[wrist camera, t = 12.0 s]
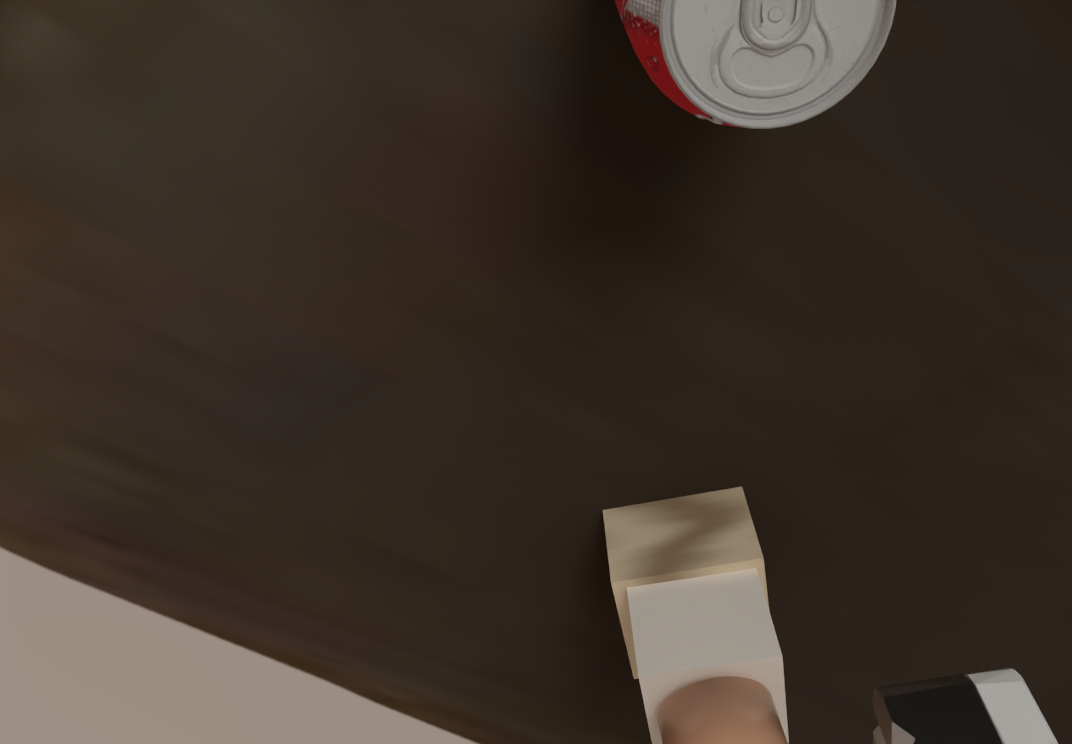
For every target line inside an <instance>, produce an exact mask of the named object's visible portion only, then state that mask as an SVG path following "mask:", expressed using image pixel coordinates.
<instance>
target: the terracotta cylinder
mask: <svg viewBox="0 0 1072 744" xmlns="http://www.w3.org/2000/svg"><path fill="white" fill-rule="evenodd" d="M657 720H658V727H659V731H660V735H661V740H662V744H788V742H787V740H786V737H785V734H784V731H783V728H782V725H781V722H780V719H779V716H778V713H777V710H776V707H775V704H774V702H773V699H772V696H771V694H770V691H769V690H768V689H767V688H766V687H765V686H764V685H763V684H761V683H759V682H757V681H755V680H752V679H749V678H744V677H735V676H725V677H716V678H710V679H706V680H702V681H699V682H696V683H693V684H691V685H689V686H686V687H685V688H683V689H681V690H679V691H678V692H676V693H675V694H673V695H672V696H671V697H670V698H669V699H668V700H667V701H666V702H665V703H664V704H663V705H662V707H661V709H660V711H659V713H658V719H657Z"/></svg>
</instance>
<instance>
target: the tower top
mask: <svg viewBox="0 0 1072 744" xmlns="http://www.w3.org/2000/svg"><path fill="white" fill-rule="evenodd" d="M627 594H628V602H629V609H630V617H631V624H632V632H633V639H634V647H635V654H636V662H637V669H638V677H639V682H640V687H641V692H642V696H643V701H644V706H645V711H646V716H647V721H648V726H649V731H650V735H651V740H652V744H662V740H661V735H660V731H659V727H658V720H657V719H658V713H659V711H660V709H661V707H662V705H663V704H664V703H665V702H666V701H667V700H668V699H669V698H670V697H671V696H672V695H673V694H675V693H676V692H678V691H679V690H681V689H683V688H685V687H686V686H689V685H691V684H693V683H696V682H699V681H702V680H706V679H710V678H716V677H725V676H735V677H744V678H749V679H752V680H755V681H757V682H759V683H761V684H763V685H764V686H765V687H766V688H767V689H768V690H769V691H770V694H771V696H772V699H773V702H774V704H775V707H776V710H777V713H778V716H779V719H780V722H781V725H782V728H783V731H784V734H785V737H786V740H787V742H788V743H789V739H788V726H787V712H786V698H785V685H784V671H783V657H782V653H781V650H780V646H779V643H778V639H777V636H776V633H775V629H774V626H773V622H772V619H771V615H770V612H769V608H768V605H767V602H766V598H765V595H764V591H763V588H762V584H761V581H760V578H759V574H758V571H757V568H755V569H748V570H742V571H735V572H728V573H722V574H715V575H708V576H702V577H695V578H688V579H682V580H675V581H668V582H662V583H655V584H648V585H642V586H635V587H628V588H627Z"/></svg>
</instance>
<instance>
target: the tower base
mask: <svg viewBox="0 0 1072 744" xmlns="http://www.w3.org/2000/svg"><path fill="white" fill-rule="evenodd" d="M603 517H604V526H605V535H606V543H607V552H608V561H609V570H610V578H611V585H612V589H613V593H614V597H615V602H616V606H617V610H618V614H619V618H620V623H621V627H622V631H623V635H624V639H625V644H626V648H627V652H628V656H629V660H630V665H631V669H632V673H633V677H634V679H638V678H639V677H638V669H637V662H636V654H635V647H634V639H633V632H632V624H631V617H630V609H629V602H628V594H627V588H628V587H635V586H642V585H648V584H655V583H662V582H668V581H675V580H682V579H688V578H695V577H702V576H708V575H715V574H722V573H728V572H735V571H742V570H748V569H755V568H757V571H758V574H759V578H760V581H761V584H762V588H763V591H764V595H765V598H766V602H767V605H768V608H769V604H768V595H767V586H766V577H765V567H764V558H763V555H762V551H761V548H760V545H759V541H758V538H757V535H756V532H755V528H754V525H753V522H752V518H751V515H750V512H749V508H748V505H747V502H746V498H745V495H744V492H743V488H742V487H736V488H731V489H725V490H719V491H713V492H707V493H701V494H695V495H689V496H683V497H678V498H672V499H666V500H660V501H654V502H648V503H642V504H636V505H630V506H625V507H619V508H613V509H607V510H603Z"/></svg>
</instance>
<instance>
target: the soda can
mask: <svg viewBox="0 0 1072 744" xmlns="http://www.w3.org/2000/svg"><path fill="white" fill-rule="evenodd" d="M614 1H615V4H616V7H617V9H618V12H619V15H620V17H621V20H622V22H623V25H624V27H625V30H626V32H627V35H628V37H629V39H630V42H631V44H632V47H633V49H634V51H635V53H636V55H637V57H638V58H639V60H640V62H641V64H642V65H643V67H644V69H645V70H646V72H647V73H648V75H649V77H650V78H651V80H652V81H653V82H654V84H655V85H656V86H657V87H658V88H659V89H660V90H661V91H662V93H663V94H664V95H665V96H666V97H668V98H669V99H670V100H672V101H673V102H674V103H675V104H677V105H678V106H679V107H680V108H682V109H684V110H686V111H688V112H689V113H691V114H693V115H695V116H697V117H698V118H701V119H704V120H707V121H710V122H713V123H716V124H721V125H726V126H732V127H744V128H750V129H771V128H778V127H786V126H789V125H793V124H796V123H800V122H803V121H805V120H807V119H810V118H812V117H814V116H816V115H819V114H821V113H822V112H824V111H825V110H827V109H829V108H830V107H832V106H834V105H835V104H836V103H838V102H839V101H840V100H841V99H843V98H844V97H845V96H846V95H848V94H849V93H850V92H851V91H852V90H853V89H854V88H855V87H856V86H857V85H858V84H859V83H860V81H861V80H862V79H863V78H864V77H865V76H866V74H867V73H868V71H869V70H870V69H871V67H872V66H873V65H874V63H875V62H876V60H877V58H878V56H879V54H880V52H881V51H882V49H883V47H884V45H885V42H886V40H887V37H888V34H889V32H890V29H891V26H892V22H893V17H894V13H895V9H896V0H614Z"/></svg>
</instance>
